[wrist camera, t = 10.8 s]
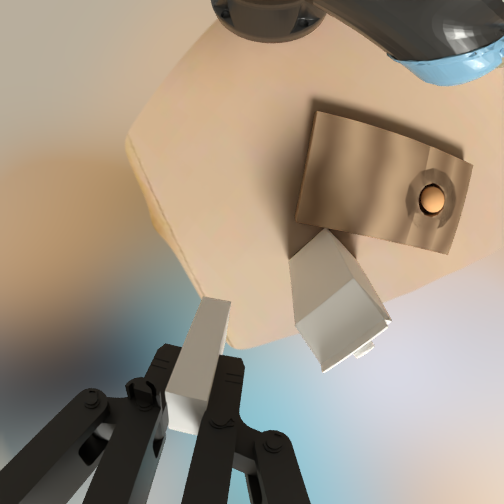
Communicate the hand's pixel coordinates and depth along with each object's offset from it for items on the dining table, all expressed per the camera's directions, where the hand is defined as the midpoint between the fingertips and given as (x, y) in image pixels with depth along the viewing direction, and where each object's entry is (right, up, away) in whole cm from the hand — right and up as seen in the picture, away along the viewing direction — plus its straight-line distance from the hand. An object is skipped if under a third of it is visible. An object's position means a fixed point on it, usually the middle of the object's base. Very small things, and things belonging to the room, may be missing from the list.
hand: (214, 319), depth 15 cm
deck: (+21, +13, +20) cm, 31 cm away
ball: (+27, +11, +18) cm, 34 cm away
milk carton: (+12, +3, +25) cm, 28 cm away
